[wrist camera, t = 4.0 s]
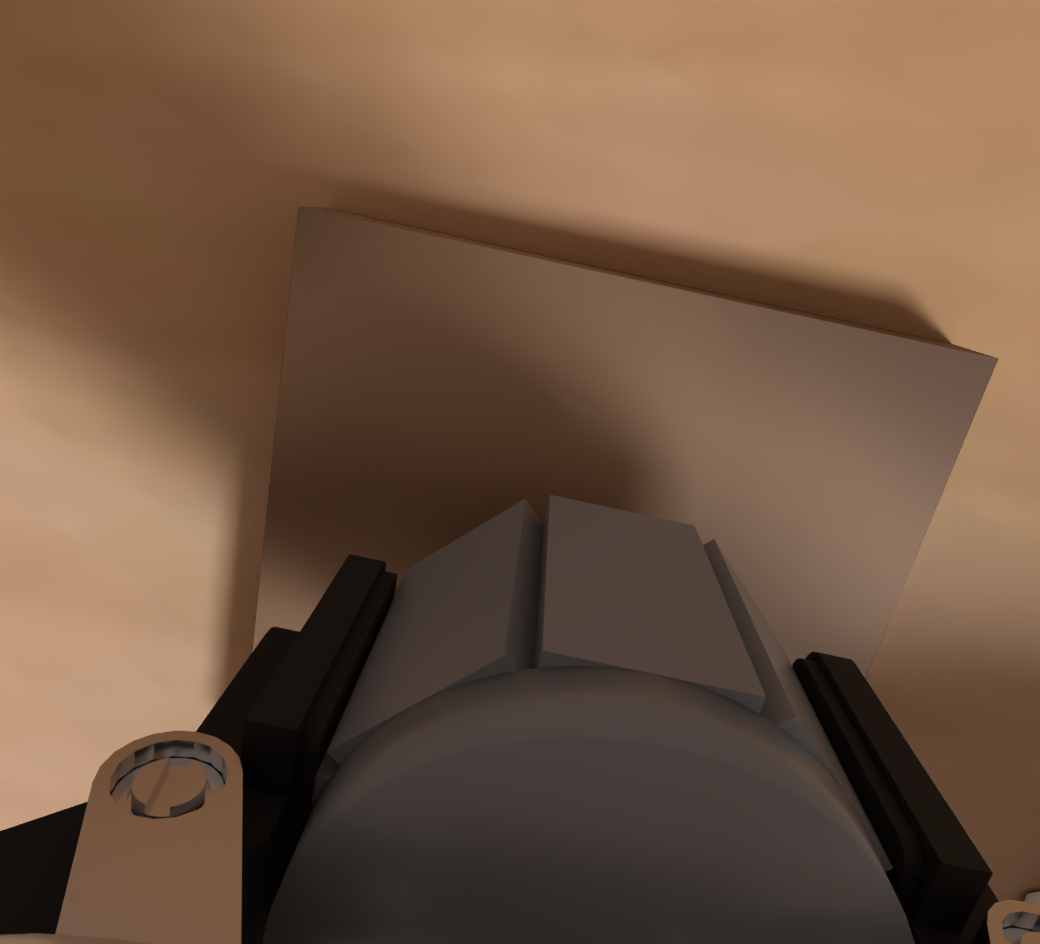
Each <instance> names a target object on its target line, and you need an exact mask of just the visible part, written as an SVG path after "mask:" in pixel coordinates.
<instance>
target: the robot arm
mask: <svg viewBox="0 0 1040 944" xmlns="http://www.w3.org/2000/svg"><path fill="white" fill-rule="evenodd" d="M396 583H397V574H396V573H391V572H387V571H386V562H385V561H380V560H375V559H371V558H366V557H361V556H356V555H352V554H349V555H348V557H347V558H346V560H345V561H344V563H343V565H342V566H341V568H340V569H339V571H338V572H337V574H336V576H335V577H334V579H333V580H332V582H331V584H330V585H329V587H328V588H327V590H326V591H325V593H324V595H323V596H322V598H321V599H320V601H319V603H318V604H317V606H316V607H315V609H314V610H313V612H312V614H311V615H310V617H309V618H308V620H307V622H306V623H305V625H304V626H303V628H302V629H301V631H300V632H299V631H294V630H289V629H285V628H280V627H271V628H270V629H269V630H268V632H267V633H266V634H265V635H264V637H263V638H262V640H261V641H260V642H259V644H258V645H257V647H256V648H255V649H254V651H253V652H252V654H251V655H250V656H249V658H248V659H247V661H246V662H245V663H244V665H243V666H242V668H241V669H240V671H239V672H238V673H237V675H236V676H235V678H234V679H233V680H232V682H231V683H230V685H229V686H228V687H227V689H226V690H225V692H224V693H223V694H222V696H221V697H220V699H219V700H218V701H217V703H216V704H215V706H214V707H213V709H212V710H211V711H210V713H209V714H208V716H207V717H206V718H205V720H204V721H203V723H202V724H201V725H200V727H199V728H198V730H197V731H196V732H191V731H171V732H164V733H157V734H152V735H149V736H146V737H143V738H141V739H138V740H135V741H132V742H131V743H129V744H127V745H126V746H124V747H122V748H120V749H119V750H117V751H115V752H114V753H113V754H112V755H111V756H110V757H109V758H108V759H107V760H106V761H105V762H104V763H103V764H102V765H101V766H100V768H99V770H98V772H97V774H96V776H95V778H94V780H93V783H92V787H91V791H90V795H89V799H88V802H85V803H83V804H80V805H77V806H74V807H71V808H68V809H65V810H62V811H59V812H56V813H53V814H50V815H47V816H44V817H41V818H38V819H35V820H32V821H29V822H26V823H23V824H20V825H17V826H14V827H11V828H8V829H5V830H2V831H0V944H263V938H264V934H265V929H266V925H267V920H268V915H269V911H270V909H271V907H272V904H273V902H274V899H275V897H276V895H277V892H278V890H279V887H280V885H281V883H282V880H283V878H284V875H285V873H286V871H287V868H288V866H289V864H290V861H291V859H292V856H293V854H294V852H295V849H296V847H297V845H298V842H299V840H300V837H301V835H302V833H303V830H304V828H305V826H306V823H307V821H308V818H309V816H310V812H311V805H312V798H313V791H314V783H315V777H316V774H317V772H318V770H319V767H320V765H321V763H322V761H323V758H324V756H325V754H326V751H327V749H328V747H329V745H330V742H331V740H332V738H333V735H334V733H335V731H336V729H337V726H338V724H339V722H340V719H341V717H342V715H343V713H344V710H345V708H346V706H347V703H348V701H349V699H350V697H351V694H352V692H353V690H354V687H355V685H356V683H357V681H358V678H359V676H360V674H361V671H362V669H363V667H364V665H365V662H366V660H367V658H368V655H369V653H370V651H371V649H372V646H373V644H374V642H375V639H376V637H377V635H378V633H379V630H380V628H381V626H382V624H383V621H384V619H385V617H386V614H387V612H388V610H389V608H390V605H391V603H392V601H393V598H394V595H395V589H396ZM792 668H793V670H794V672H795V673H796V675H797V677H798V679H799V681H800V683H801V685H802V687H803V689H804V691H805V693H806V695H807V697H808V699H809V701H810V703H811V705H812V707H813V709H814V711H815V713H816V715H817V717H818V719H819V721H820V723H821V725H822V727H823V729H824V731H825V733H826V735H827V737H828V739H829V741H830V743H831V745H832V747H833V749H834V751H835V753H836V755H837V757H838V759H839V761H840V763H841V765H842V767H843V769H844V771H845V773H846V775H847V777H848V779H849V781H850V783H851V785H852V787H853V789H854V791H855V793H856V795H857V797H858V799H859V801H860V803H861V805H862V807H863V809H864V811H865V813H866V815H867V817H868V819H869V821H870V823H871V825H872V827H873V829H874V831H875V833H876V835H877V837H878V839H879V841H880V843H881V845H882V847H883V849H884V851H885V853H886V855H887V857H888V859H889V861H890V863H891V865H892V867H893V869H891V870H888V871H886V872H885V873H886V875H887V877H888V879H889V882H890V884H891V886H892V888H893V890H894V892H895V894H896V896H897V898H898V900H899V902H900V904H901V906H902V908H903V910H904V912H905V914H906V917H907V921H908V924H909V927H910V930H911V933H912V936H913V939H914V942H915V944H1040V907H1039V906H1036V905H1033V904H1030V903H1028V902H1023V901H1015V900H1005V901H1000V902H999V901H998V899H997V898H996V896H995V895H994V893H993V892H992V890H991V888H990V887H989V885H988V884H987V883H988V882H989V880H990V878H991V876H992V874H993V873H992V871H991V870H990V868H989V867H988V865H987V864H986V862H985V861H984V859H983V858H982V856H981V855H980V853H979V852H978V850H977V849H976V847H975V845H974V844H973V842H972V841H971V839H970V838H969V836H968V835H967V833H966V832H965V830H964V829H963V827H962V826H961V824H960V823H959V821H958V820H957V818H956V817H955V815H954V813H953V812H952V810H951V809H950V807H949V806H948V804H947V803H946V801H945V800H944V798H943V797H942V795H941V794H940V792H939V791H938V789H937V788H936V786H935V784H934V783H933V781H932V780H931V778H930V777H929V775H928V774H927V772H926V771H925V769H924V768H923V766H922V765H921V763H920V762H919V760H918V759H917V757H916V755H915V754H914V752H913V751H912V749H911V748H910V746H909V745H908V743H907V742H906V740H905V739H904V737H903V736H902V734H901V733H900V731H899V730H898V728H897V726H896V725H895V723H894V722H893V720H892V719H891V717H890V716H889V714H888V713H887V711H886V710H885V708H884V707H883V705H882V704H881V702H880V701H879V699H878V697H877V696H876V694H875V693H874V691H873V690H872V688H871V687H870V685H869V684H868V682H867V681H866V679H865V678H864V676H863V675H862V673H861V672H860V670H859V668H858V667H857V665H856V664H855V663H854V662H853V661H852V660H851V659H848V658H843V657H838V656H833V655H829V654H824V653H819V652H814V651H813V652H811V653H809V654H808V656H807V657H806V658H805V659H802V658H798V659H796V661H795V662H794V663H793V665H792Z"/></svg>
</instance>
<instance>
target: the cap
mask: <svg viewBox="0 0 1040 944" xmlns="http://www.w3.org/2000/svg"><path fill="white" fill-rule="evenodd" d="M891 869H893V867H892V865H891V863H890V861H889V859H888V857H887V855H886V853H885V851H884V849H883V847H882V845H881V843H880V841H879V839H878V837H877V835H876V833H875V831H874V829H873V827H872V825H871V823H870V821H869V819H868V817H867V815H866V813H865V811H864V809H863V807H862V805H861V803H860V801H859V799H858V797H857V795H856V793H855V791H854V789H853V787H852V785H851V783H850V781H849V779H848V777H847V775H846V773H845V771H844V769H843V767H842V765H841V763H840V761H839V759H838V757H837V755H836V753H835V751H834V749H833V747H832V745H831V743H830V741H829V739H828V737H827V735H826V733H825V731H824V729H823V727H822V725H821V723H820V721H819V719H818V717H817V715H816V713H815V711H814V709H813V707H812V705H811V703H810V701H809V699H808V697H807V695H806V693H805V691H804V689H803V687H802V685H801V683H800V681H799V679H798V677H797V675H796V673H795V672H794V670H793V668H792V666H791V664H790V662H789V660H788V658H787V656H786V654H785V652H784V650H783V648H782V646H781V644H780V643H779V641H778V640H777V638H776V636H775V635H774V633H773V632H772V630H771V628H770V627H769V625H768V624H767V622H766V620H765V619H764V617H763V616H762V614H761V612H760V611H759V609H758V608H757V606H756V604H755V603H754V601H753V600H752V598H751V596H750V595H749V593H748V592H747V590H746V588H745V587H744V585H743V584H742V582H741V580H740V579H739V577H738V576H737V574H736V572H735V571H734V569H733V568H732V566H731V564H730V563H729V561H728V560H727V558H726V556H725V555H724V553H723V552H722V550H721V548H720V547H719V545H718V544H717V542H716V540H715V539H713V540H711V541H709V542H708V543H706V544H704V545H703V544H702V542H701V540H700V537H699V535H698V532H697V530H696V528H695V525H690V524H686V523H681V522H676V521H671V520H667V519H662V518H657V517H653V516H648V515H643V514H639V513H634V512H629V511H624V510H620V509H615V508H610V507H606V506H601V505H596V504H591V503H587V502H582V501H577V500H573V499H568V498H563V497H558V496H554V495H550V497H549V501H548V505H547V510H546V514H545V518H544V522H543V523H542V522H541V521H540V519H539V518H538V516H537V515H536V513H535V512H534V510H533V509H532V508H531V506H530V505H529V503H528V502H527V500H526V499H524V500H522V501H520V502H519V503H517V504H515V505H514V506H512V507H510V508H509V509H507V510H505V511H504V512H502V513H500V514H499V515H497V516H495V517H494V518H492V519H490V520H488V521H487V522H485V523H483V524H482V525H480V526H478V527H477V528H475V529H473V530H472V531H470V532H468V533H467V534H465V535H463V536H462V537H460V538H458V539H457V540H455V541H453V542H451V543H450V544H448V545H446V546H445V547H443V548H441V549H440V550H438V551H436V552H435V553H433V554H431V555H430V556H428V557H426V558H425V559H423V560H421V561H420V562H418V563H416V564H414V565H413V566H411V567H409V568H408V569H407V570H406V572H405V575H404V577H403V579H402V581H401V584H400V586H399V587H396V589H395V595H394V598H393V601H392V603H391V605H390V608H389V610H388V612H387V614H386V617H385V619H384V621H383V624H382V626H381V628H380V630H379V633H378V635H377V637H376V639H375V642H374V644H373V646H372V649H371V651H370V653H369V655H368V658H367V660H366V662H365V665H364V667H363V669H362V671H361V674H360V676H359V678H358V681H357V683H356V685H355V687H354V690H353V692H352V694H351V697H350V699H349V701H348V703H347V706H346V708H345V710H344V713H343V715H342V717H341V719H340V722H339V724H338V726H337V729H336V731H335V733H334V735H333V738H332V740H331V742H330V745H329V747H328V749H327V751H326V754H325V756H324V758H323V761H322V763H321V765H320V767H319V770H318V772H317V774H316V777H315V783H314V791H313V798H312V805H311V812H310V816H309V818H308V821H307V823H306V826H305V828H304V830H303V833H302V835H301V837H300V840H299V842H298V845H297V847H296V849H295V852H294V854H293V856H292V859H291V861H290V864H289V866H288V868H287V871H286V873H285V875H284V878H283V880H282V883H281V885H280V887H279V890H278V892H277V895H276V897H275V899H274V902H273V904H272V907H271V909H270V911H269V915H268V920H267V925H266V929H265V934H264V938H263V944H915V942H914V939H913V936H912V933H911V930H910V927H909V924H908V921H907V917H906V914H905V912H904V910H903V908H902V906H901V904H900V902H899V900H898V898H897V896H896V894H895V892H894V890H893V888H892V886H891V884H890V882H889V879H888V877H887V875H886V873H885V872H886V871H888V870H891Z"/></svg>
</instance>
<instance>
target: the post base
mask: <svg viewBox="0 0 1040 944" xmlns="http://www.w3.org/2000/svg"><path fill="white" fill-rule="evenodd" d="M997 361H998V358H995V357H991V356H988V355H985V354H982V353H979V352H976V351H973V350H969V349H966V348H963V347H960V346H957V345H953V344H949V343H944V342H939V341H935V340H930V339H926V338H921V337H916V336H912V335H907V334H903V333H898V332H893V331H889V330H884V329H880V328H875V327H870V326H866V325H861V324H857V323H852V322H847V321H843V320H838V319H834V318H829V317H824V316H820V315H815V314H811V313H806V312H801V311H797V310H792V309H788V308H783V307H778V306H774V305H769V304H765V303H760V302H755V301H751V300H746V299H742V298H737V297H732V296H728V295H723V294H719V293H714V292H709V291H705V290H700V289H696V288H691V287H686V286H682V285H677V284H672V283H668V282H663V281H659V280H654V279H649V278H645V277H640V276H636V275H631V274H626V273H622V272H617V271H613V270H608V269H603V268H599V267H594V266H590V265H585V264H580V263H576V262H571V261H567V260H562V259H557V258H553V257H548V256H544V255H539V254H534V253H530V252H525V251H521V250H516V249H511V248H507V247H502V246H498V245H493V244H488V243H484V242H479V241H475V240H470V239H465V238H461V237H456V236H452V235H447V234H442V233H438V232H433V231H429V230H424V229H419V228H415V227H410V226H406V225H401V224H396V223H392V222H387V221H383V220H378V219H373V218H369V217H364V216H359V215H355V214H350V213H346V212H341V211H336V210H332V209H327V208H314V207H299V208H298V217H297V227H296V237H295V246H294V256H293V266H292V275H291V285H290V294H289V304H288V314H287V323H286V333H285V343H284V352H283V362H282V372H281V381H280V391H279V401H278V410H277V420H276V429H275V439H274V449H273V458H272V468H271V478H270V487H269V497H268V507H267V516H266V526H265V536H264V545H263V555H262V564H261V574H260V584H259V593H258V603H257V613H256V622H255V632H254V642H253V651H254V649H255V648H256V647H257V645H258V644H259V642H260V641H261V640H262V638H263V637H264V635H265V634H266V633H267V632H268V630H269V629H270V628H271V627H280V628H285V629H289V630H294V631H299V632H300V631H301V629H302V628H303V626H304V625H305V623H306V622H307V620H308V618H309V617H310V615H311V614H312V612H313V610H314V609H315V607H316V606H317V604H318V603H319V601H320V599H321V598H322V596H323V595H324V593H325V591H326V590H327V588H328V587H329V585H330V584H331V582H332V580H333V579H334V577H335V576H336V574H337V572H338V571H339V569H340V568H341V566H342V565H343V563H344V561H345V560H346V558H347V557H348V555H349V554H352V555H356V556H361V557H366V558H371V559H375V560H380V561H385V562H386V571H387V572H391V573H396V574H397V583H396V587H399V586H400V584H401V581H402V579H403V577H404V575H405V572H406V570H407V569H408V568H409V567H411V566H413V565H414V564H416V563H418V562H420V561H421V560H423V559H425V558H426V557H428V556H430V555H431V554H433V553H435V552H436V551H438V550H440V549H441V548H443V547H445V546H446V545H448V544H450V543H451V542H453V541H455V540H457V539H458V538H460V537H462V536H463V535H465V534H467V533H468V532H470V531H472V530H473V529H475V528H477V527H478V526H480V525H482V524H483V523H485V522H487V521H488V520H490V519H492V518H494V517H495V516H497V515H499V514H500V513H502V512H504V511H505V510H507V509H509V508H510V507H512V506H514V505H515V504H517V503H519V502H520V501H522V500H524V499H526V500H527V502H528V503H529V505H530V506H531V508H532V509H533V510H534V512H535V513H536V515H537V516H538V518H539V519H540V521H541V522H542V523H543V522H544V518H545V514H546V510H547V505H548V501H549V497H550V495H554V496H558V497H563V498H568V499H573V500H577V501H582V502H587V503H591V504H596V505H601V506H606V507H610V508H615V509H620V510H624V511H629V512H634V513H639V514H643V515H648V516H653V517H657V518H662V519H667V520H671V521H676V522H681V523H686V524H690V525H695V528H696V530H697V532H698V535H699V537H700V540H701V542H702V544H703V545H704V544H706V543H708V542H709V541H711V540H713V539H715V540H716V542H717V544H718V545H719V547H720V548H721V550H722V552H723V553H724V555H725V556H726V558H727V560H728V561H729V563H730V564H731V566H732V568H733V569H734V571H735V572H736V574H737V576H738V577H739V579H740V580H741V582H742V584H743V585H744V587H745V588H746V590H747V592H748V593H749V595H750V596H751V598H752V600H753V601H754V603H755V604H756V606H757V608H758V609H759V611H760V612H761V614H762V616H763V617H764V619H765V620H766V622H767V624H768V625H769V627H770V628H771V630H772V632H773V633H774V635H775V636H776V638H777V640H778V641H779V643H780V644H781V646H782V648H783V650H784V652H785V654H786V656H787V658H788V660H789V662H790V664H791V666H792V665H793V663H794V662H795V661H796V659H798V658H802V659H805V658H806V657H807V656H808V654H809V653H811V652H813V651H814V652H819V653H824V654H829V655H833V656H838V657H843V658H848V659H851V660H852V661H853V662H854V663H855V664H856V665H857V667H858V668H859V670H860V672H861V673H862V675H863V676H864V678H866V675H867V673H868V670H869V668H870V666H871V663H872V661H873V658H874V656H875V654H876V651H877V649H878V646H879V644H880V642H881V639H882V637H883V634H884V632H885V630H886V627H887V625H888V622H889V620H890V618H891V615H892V613H893V610H894V608H895V606H896V603H897V601H898V598H899V596H900V594H901V591H902V589H903V586H904V584H905V582H906V579H907V577H908V574H909V572H910V570H911V567H912V565H913V562H914V560H915V558H916V555H917V553H918V550H919V548H920V546H921V543H922V541H923V538H924V536H925V534H926V531H927V529H928V526H929V524H930V521H931V519H932V517H933V514H934V512H935V509H936V507H937V505H938V502H939V500H940V497H941V495H942V493H943V490H944V488H945V485H946V483H947V481H948V478H949V476H950V473H951V471H952V469H953V466H954V464H955V461H956V459H957V457H958V454H959V452H960V449H961V447H962V445H963V442H964V440H965V437H966V435H967V433H968V430H969V428H970V425H971V423H972V421H973V418H974V416H975V413H976V411H977V409H978V406H979V404H980V401H981V399H982V397H983V394H984V392H985V389H986V387H987V385H988V382H989V380H990V377H991V375H992V373H993V370H994V368H995V365H996V363H997ZM253 651H252V652H253Z"/></svg>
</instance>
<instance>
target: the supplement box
mask: <svg viewBox="0 0 1040 944" xmlns="http://www.w3.org/2000/svg"><path fill="white" fill-rule="evenodd" d="M1024 902H1028V903H1030V904H1033V905H1036V906H1039V907H1040V892H1034V893H1030V894H1027V895H1026V898H1025V901H1024Z"/></svg>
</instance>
